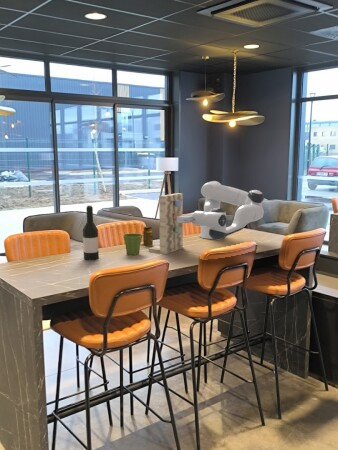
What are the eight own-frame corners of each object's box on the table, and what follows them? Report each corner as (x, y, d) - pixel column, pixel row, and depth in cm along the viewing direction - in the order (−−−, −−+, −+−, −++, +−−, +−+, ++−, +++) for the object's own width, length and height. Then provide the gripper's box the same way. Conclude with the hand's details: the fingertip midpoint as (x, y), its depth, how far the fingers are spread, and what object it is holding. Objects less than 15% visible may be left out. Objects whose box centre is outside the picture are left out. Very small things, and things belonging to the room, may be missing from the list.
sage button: (173, 232, 266) (173, 225, 266) (181, 233, 263) (181, 226, 262) (169, 233, 263) (169, 226, 262) (177, 234, 260) (177, 227, 259)
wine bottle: (80, 258, 246) (78, 205, 241) (92, 256, 252) (90, 204, 248) (90, 261, 241) (88, 207, 236) (101, 258, 247) (100, 205, 242)
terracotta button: (171, 219, 266) (171, 212, 265) (179, 220, 263) (179, 212, 262) (167, 220, 262) (167, 212, 261) (176, 220, 259) (176, 213, 258)
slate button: (173, 206, 264) (173, 199, 263) (181, 206, 261) (181, 199, 260) (169, 207, 260) (169, 199, 259) (177, 207, 257) (177, 200, 256)
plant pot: (143, 255, 252) (142, 236, 251) (122, 256, 252) (122, 237, 250) (143, 251, 264) (142, 233, 262) (123, 251, 263) (123, 233, 262)
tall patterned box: (166, 245, 280) (166, 192, 274) (182, 247, 273) (182, 193, 268) (148, 251, 263) (147, 195, 258) (165, 254, 257) (165, 196, 251)
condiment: (155, 245, 281) (155, 227, 279) (143, 247, 276) (143, 228, 274) (149, 243, 287) (149, 225, 285) (138, 245, 282) (137, 226, 280)
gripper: (189, 226, 245) (168, 224, 252) (206, 221, 262) (186, 219, 269) (189, 215, 244) (168, 213, 251) (206, 211, 261) (186, 209, 268)
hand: (178, 216), depth 260 cm, fingers closed, pressing on terracotta button
